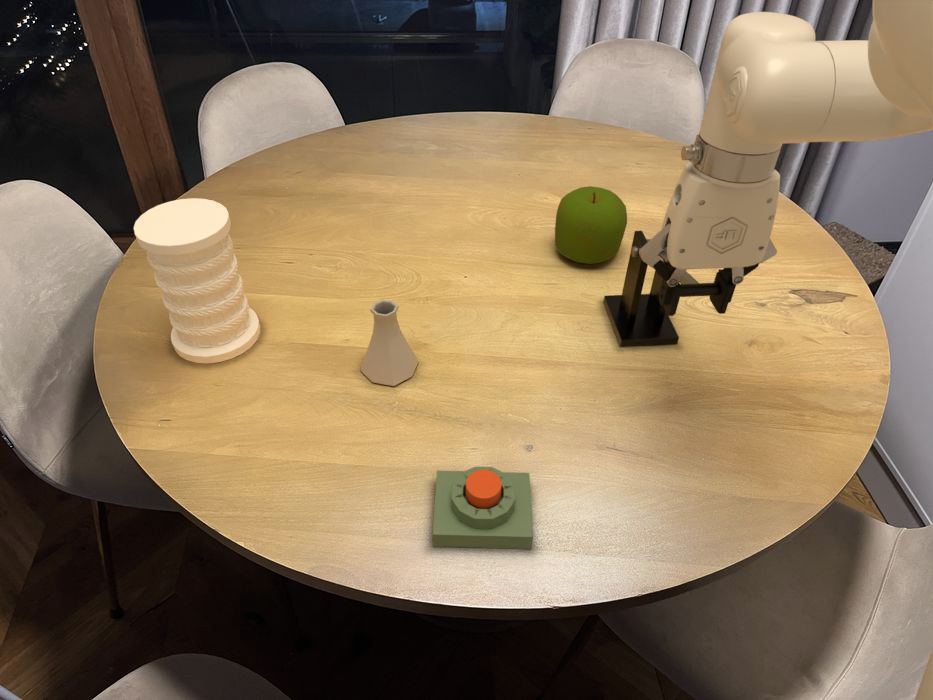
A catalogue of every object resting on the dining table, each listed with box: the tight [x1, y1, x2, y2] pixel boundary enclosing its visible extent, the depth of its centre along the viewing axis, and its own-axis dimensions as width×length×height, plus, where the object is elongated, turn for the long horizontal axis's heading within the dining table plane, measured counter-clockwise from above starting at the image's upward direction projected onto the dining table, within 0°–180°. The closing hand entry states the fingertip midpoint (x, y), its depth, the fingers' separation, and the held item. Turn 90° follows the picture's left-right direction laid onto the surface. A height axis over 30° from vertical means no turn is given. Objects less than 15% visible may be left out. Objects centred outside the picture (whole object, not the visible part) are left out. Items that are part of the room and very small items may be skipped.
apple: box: [554, 185, 628, 265], centre depth 105 cm, size 11×11×11 cm
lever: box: [646, 238, 721, 298], centre depth 82 cm, size 16×5×2 cm, turn 4°
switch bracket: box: [603, 230, 680, 347], centre depth 91 cm, size 10×8×14 cm
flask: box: [359, 298, 420, 387], centre depth 85 cm, size 7×7×10 cm
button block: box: [432, 466, 534, 550], centre depth 70 cm, size 10×8×4 cm
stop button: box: [466, 470, 502, 508], centre depth 69 cm, size 4×4×2 cm
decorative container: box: [133, 197, 261, 364], centre depth 87 cm, size 12×12×18 cm
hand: (692, 306), depth 77 cm, fingers closed on lever, 5 cm apart
